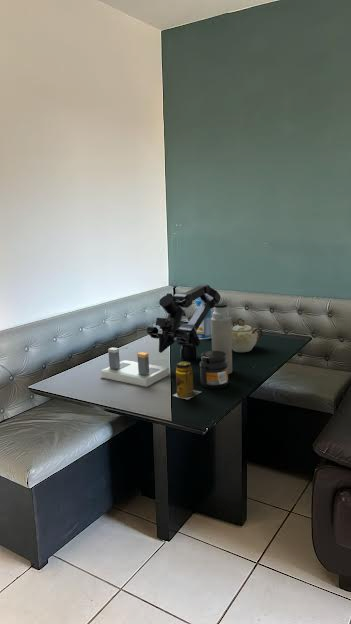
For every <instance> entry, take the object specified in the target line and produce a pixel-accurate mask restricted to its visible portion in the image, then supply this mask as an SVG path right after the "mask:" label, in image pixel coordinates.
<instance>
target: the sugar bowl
mask: <svg viewBox="0 0 351 624" xmlns="http://www.w3.org/2000/svg"><path fill="white" fill-rule="evenodd" d="M239 321H241V322H242V323H239ZM245 322H246V321H245V320H244V319H243V318H238V319H237V321H236V324H237V325H234V326H231V337H232V352H233V351H234V352H235V353H246V352H247V353H248V352H250V351H252V350H253V348H254V347H255V345H256V344H257V343H259V340H260V339H261V338H262V336H263V330H262V329H261V328H254V327H253V326H250V325H247V324H245ZM258 332H259V333H260V334H259V333H258Z"/></svg>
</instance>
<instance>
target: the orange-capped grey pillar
mask: <svg viewBox="0 0 351 624" xmlns="http://www.w3.org/2000/svg"><path fill="white" fill-rule="evenodd" d="M136 357H137V362H138V371H139V374H143V375H147V374H149V364H150V361H149V359H150V358H149V353H148V352H142V351H139V352H138V353H137V356H136Z"/></svg>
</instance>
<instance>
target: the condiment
mask: <svg viewBox="0 0 351 624" xmlns="http://www.w3.org/2000/svg"><path fill="white" fill-rule="evenodd" d="M192 369H193V368H192V363H191V361H190V362H189V361H186V360H183V361H178V362H177V363H176V370H175V378H176V379H175V382H176V384H175V385H176V393H174V394H172V395H171V396H173V397H176V398H179V399H182V400H183V399H185V400H190V399H191V398H193V397H195V396H197V395H199V394H200V393H202V391H199V390H195V389H194V376H193V374H194V373H193V370H192ZM194 394H195V395H194Z"/></svg>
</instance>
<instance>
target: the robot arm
mask: <svg viewBox="0 0 351 624" xmlns="http://www.w3.org/2000/svg"><path fill="white" fill-rule="evenodd" d="M199 298H201V304H200V306H199V307H198V306H197V307H198V309H197V308H196V309H197V310H196V309H195V311H196V312H195V311H194V313H193V314H192V317H191V318H190V319H189V321H188V323H181V320H182V319H183V317H186V316H187V314H186V311H185V310H184V309H183V308H186V309H188V308H190V306H192V305H193V302H194V301H196V300H197V299H199ZM220 302H221V295H220V293H219V292H218V290H215V289H214V288H212V287H211V285H208V284H198V285H197V286H195V287H194V288H191V289H189V290H188V291H186V292H178V293H175V294H174V295H173V294H172V293H166V295H164V296H163V297H161V298H160V299H159V302H158V304H159V306H160V307H161V308H162V309H163V310H164V312H165V313H166V314H168V315H167V317H156V321H155V326H150V325H149V326H147V328H146V330H145V332H146V334H147V335H148V336H149V337H150V338H152V339H156V340H158V352H159V353H160V354H161V353H164V352H165V350H166V349H168V348H169V347H170V346H172V345H173V344H175V343H177V344H178V346H181V347H180V358H181V359H182V361H195V360H198V355H197V347H199V346H200V344H201V339H199V338H198V337H197V329H198V328H199V326H200V324H201V323H202V321H203V320H204V318H205V316H206V315H207V313H208V312H209V310H210V309H211V310H212V309H215V306H214V305H215V304H220ZM157 327H159V329H158V328H157Z"/></svg>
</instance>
